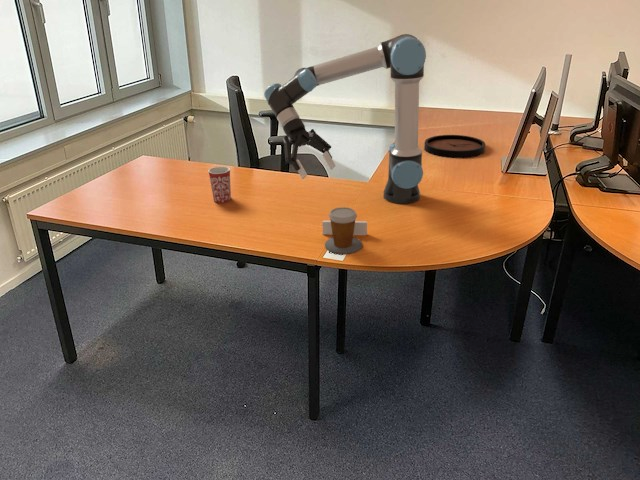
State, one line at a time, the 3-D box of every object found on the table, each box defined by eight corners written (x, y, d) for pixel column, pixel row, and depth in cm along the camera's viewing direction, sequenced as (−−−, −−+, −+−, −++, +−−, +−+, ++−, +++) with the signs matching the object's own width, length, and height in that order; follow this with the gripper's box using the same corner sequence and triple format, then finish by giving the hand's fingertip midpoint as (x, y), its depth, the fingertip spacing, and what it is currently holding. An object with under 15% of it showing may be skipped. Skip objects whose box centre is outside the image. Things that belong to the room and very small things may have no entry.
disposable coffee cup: (354, 251, 179) (355, 218, 173) (327, 249, 181) (326, 217, 175) (358, 238, 187) (358, 207, 182) (331, 237, 189) (331, 206, 183)
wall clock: (418, 147, 274) (432, 132, 300) (417, 155, 276) (431, 139, 301) (480, 153, 262) (489, 137, 288) (479, 161, 264) (488, 144, 290)
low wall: (366, 233, 192) (367, 221, 190) (366, 235, 191) (367, 222, 188) (323, 233, 193) (322, 220, 191) (322, 234, 192) (322, 221, 190)
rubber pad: (362, 237, 189) (362, 236, 189) (361, 254, 178) (361, 253, 177) (326, 236, 190) (326, 235, 190) (323, 253, 179) (323, 252, 179)
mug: (233, 202, 222) (230, 172, 216) (212, 205, 220) (208, 174, 214) (232, 192, 233) (229, 162, 227) (211, 194, 231) (207, 164, 225)
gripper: (312, 122, 204) (339, 169, 201) (259, 135, 189) (287, 186, 186) (321, 111, 198) (349, 158, 195) (267, 124, 183) (296, 175, 180)
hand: (319, 172), depth 190 cm, fingers open, 13 cm apart
